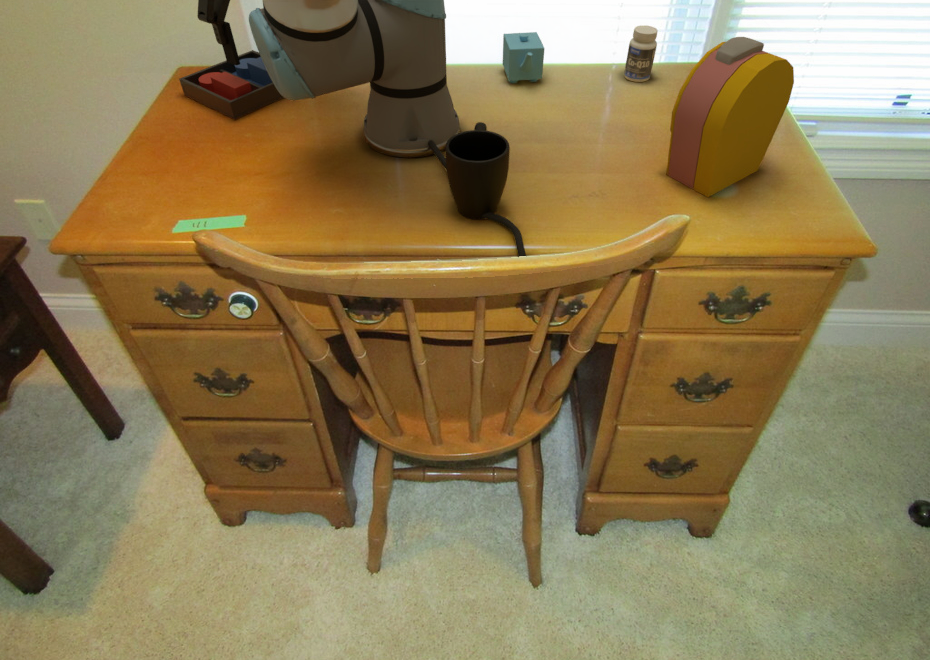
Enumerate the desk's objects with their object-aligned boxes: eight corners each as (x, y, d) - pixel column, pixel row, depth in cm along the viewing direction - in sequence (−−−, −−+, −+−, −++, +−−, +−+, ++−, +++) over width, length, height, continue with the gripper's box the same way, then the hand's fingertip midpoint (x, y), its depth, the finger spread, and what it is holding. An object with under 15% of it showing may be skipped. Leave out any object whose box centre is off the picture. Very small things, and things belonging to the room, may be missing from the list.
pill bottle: (622, 80, 114) (630, 32, 108) (625, 70, 118) (633, 22, 112) (648, 83, 113) (658, 35, 107) (651, 73, 117) (660, 25, 111)
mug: (511, 178, 92) (513, 117, 85) (504, 227, 84) (507, 163, 77) (455, 175, 93) (453, 114, 86) (443, 223, 84) (440, 160, 78)
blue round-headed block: (292, 83, 113) (288, 65, 111) (271, 92, 111) (267, 74, 109) (252, 66, 119) (248, 49, 116) (232, 75, 116) (227, 57, 114)
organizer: (307, 86, 114) (304, 70, 112) (234, 119, 106) (229, 102, 103) (256, 65, 121) (252, 49, 119) (184, 95, 112) (178, 78, 110)
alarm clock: (719, 144, 98) (756, 20, 85) (764, 166, 94) (811, 39, 81) (654, 176, 92) (683, 48, 79) (699, 201, 87) (739, 69, 74)
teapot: (545, 92, 112) (548, 49, 106) (511, 94, 111) (513, 51, 106) (532, 64, 120) (535, 22, 114) (501, 65, 119) (502, 24, 114)
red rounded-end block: (258, 98, 109) (253, 80, 107) (236, 108, 107) (230, 90, 104) (218, 80, 114) (213, 63, 112) (196, 89, 112) (190, 71, 110)
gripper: (278, -113, 103) (304, 26, 118) (141, -84, 90) (191, 68, 104) (308, -108, 100) (331, 34, 114) (171, -77, 86) (218, 79, 101)
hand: (264, 51), depth 109 cm, fingers open, 12 cm apart
